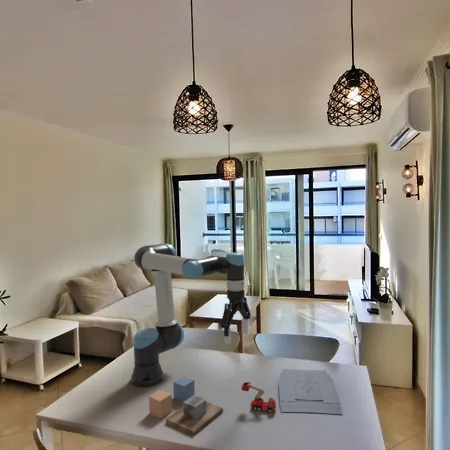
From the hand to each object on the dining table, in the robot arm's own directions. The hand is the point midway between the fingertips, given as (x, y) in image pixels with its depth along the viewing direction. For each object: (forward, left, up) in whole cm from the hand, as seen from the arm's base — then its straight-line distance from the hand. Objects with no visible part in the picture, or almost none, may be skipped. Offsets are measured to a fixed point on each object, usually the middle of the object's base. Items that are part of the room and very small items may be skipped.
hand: (236, 338), depth 150 cm
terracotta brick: (-20, -26, -26) cm, 42 cm away
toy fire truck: (+12, -2, -26) cm, 29 cm away
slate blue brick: (-20, -12, -26) cm, 35 cm away
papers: (+24, +19, -27) cm, 40 cm away
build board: (-6, -21, -26) cm, 34 cm away
